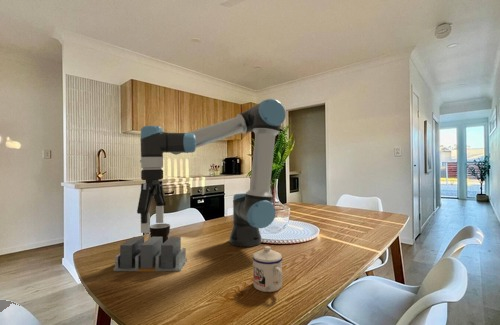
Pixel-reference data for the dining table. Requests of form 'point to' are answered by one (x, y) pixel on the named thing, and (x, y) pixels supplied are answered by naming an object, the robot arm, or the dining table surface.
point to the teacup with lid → (267, 270)
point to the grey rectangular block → (150, 251)
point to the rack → (165, 260)
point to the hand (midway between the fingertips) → (153, 227)
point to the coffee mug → (160, 231)
